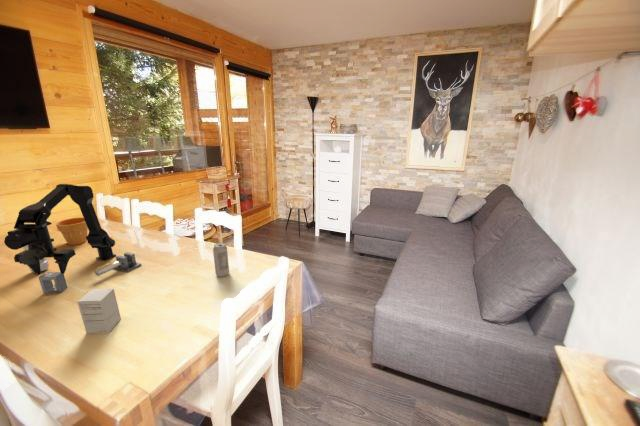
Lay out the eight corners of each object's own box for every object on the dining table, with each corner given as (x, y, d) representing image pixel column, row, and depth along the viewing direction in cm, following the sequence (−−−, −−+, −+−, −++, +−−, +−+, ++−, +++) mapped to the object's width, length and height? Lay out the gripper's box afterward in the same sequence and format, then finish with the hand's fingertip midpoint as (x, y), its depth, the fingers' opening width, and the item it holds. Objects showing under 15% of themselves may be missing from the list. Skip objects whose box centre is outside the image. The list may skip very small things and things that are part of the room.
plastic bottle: (53, 268, 136) (41, 229, 130) (36, 275, 130) (23, 234, 124) (44, 266, 138) (33, 228, 132) (27, 273, 132) (14, 233, 126)
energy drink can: (225, 270, 137) (222, 241, 132) (231, 274, 133) (229, 245, 128) (213, 274, 133) (210, 244, 128) (219, 279, 129) (216, 248, 124)
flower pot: (97, 240, 169) (92, 220, 165) (67, 248, 158) (61, 227, 154) (87, 235, 176) (82, 216, 173) (57, 243, 165) (52, 222, 161)
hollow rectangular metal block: (43, 293, 116) (38, 277, 114) (51, 288, 120) (46, 272, 118) (60, 293, 117) (55, 276, 114) (67, 287, 120) (63, 271, 118)
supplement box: (99, 319, 101) (91, 288, 97) (121, 318, 102) (114, 287, 98) (85, 334, 94) (76, 301, 90) (108, 333, 95) (100, 300, 91)
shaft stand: (91, 278, 128) (88, 265, 126) (127, 262, 143) (124, 250, 142) (106, 282, 125) (103, 269, 123) (141, 265, 140) (139, 254, 138)
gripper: (-7, 248, 103) (7, 285, 108) (49, 246, 105) (60, 283, 109) (21, 236, 114) (33, 271, 118) (71, 235, 115) (80, 269, 120)
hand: (51, 274), depth 116 cm, fingers open, 9 cm apart
